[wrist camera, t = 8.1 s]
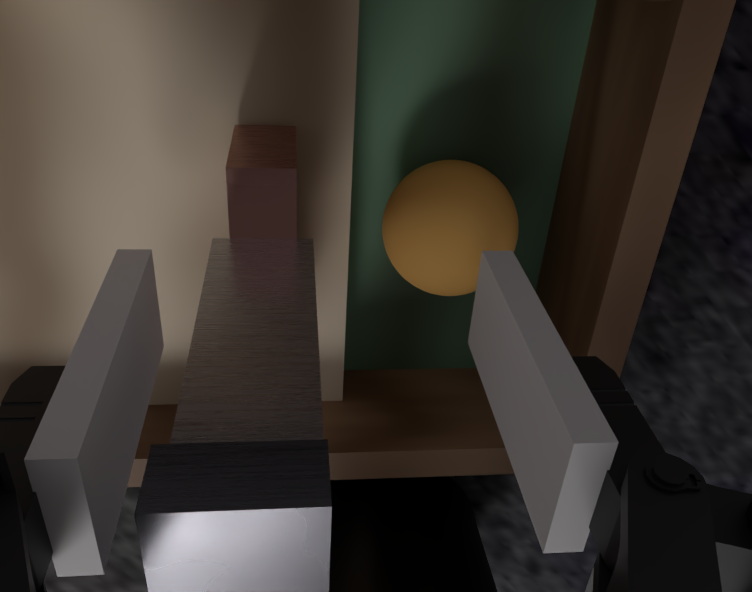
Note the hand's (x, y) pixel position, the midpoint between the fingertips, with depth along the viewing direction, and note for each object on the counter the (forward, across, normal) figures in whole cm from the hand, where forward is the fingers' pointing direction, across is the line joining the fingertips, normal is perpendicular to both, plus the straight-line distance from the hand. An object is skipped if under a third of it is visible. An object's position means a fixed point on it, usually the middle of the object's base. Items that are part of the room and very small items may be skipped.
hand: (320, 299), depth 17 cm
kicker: (+4, -1, 0) cm, 4 cm away
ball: (+4, +4, 0) cm, 6 cm away
